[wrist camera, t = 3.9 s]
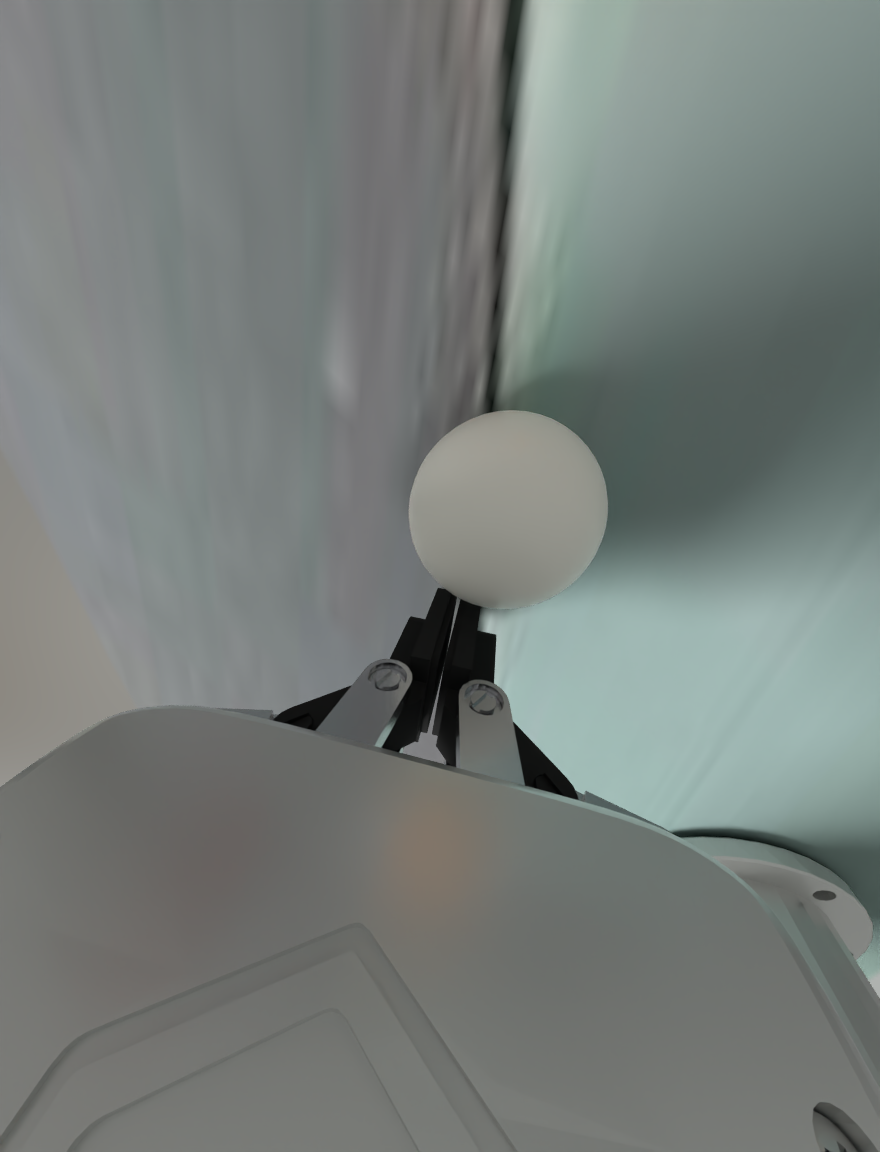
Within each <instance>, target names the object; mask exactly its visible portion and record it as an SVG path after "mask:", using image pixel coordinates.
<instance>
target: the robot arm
mask: <svg viewBox="0 0 880 1152" xmlns="http://www.w3.org/2000/svg"><path fill="white" fill-rule="evenodd" d="M456 599H457V597H456V596H455V595H453V594H452V593H450V592H449V591H447V590H446V589H442V588H438V589H437V592H436V594H435V597H434V599H433V602H432V604H431V607H430V609H429V612H428V614H427V617H426V619H421V618H416V617H410V618H409V620H408V622H407V624H406V626H405V628H404V630H403V632H402V635H401V637H400V639H399V641H398V643H397V645H396V647H395V649H394V651H393V653H392V655H391V657H390V659H382V660H378V661H375V662H373V663H371V664H370V665H369V666H368V667H367V668H366V669H365V670H364V671H363V672H362V674H361V675H360V676H359V677H358V679H357V680H356V681H355V682H354V684H353V685H352V686H349V687H346V688H344V689H341V690H338V691H335V692H333V693H330V694H327V695H324V696H322V697H319V698H316V699H313V700H311V701H308V702H305V703H302V704H300V705H297V706H294V707H291V708H289V709H287V710H285V711H283V712H281V713H280V714H279V715H274V714H273V710H250V709H223V708H209V707H200V706H178V705H169V706H157V707H146V708H140V709H135V710H130V711H126V712H122V713H119V714H116V715H113V716H110V717H107V718H105V719H103V720H101V721H99V722H97V723H95V724H93V725H92V726H90V727H88V728H86V729H84V730H83V731H81V732H80V733H78V734H76V735H74V736H73V737H71V738H70V739H68V740H67V741H65V742H64V743H62V744H61V745H59V746H58V747H56V748H55V749H53V750H52V751H50V752H49V753H47V754H46V755H44V756H43V757H42V758H40V759H39V760H37V761H36V762H35V763H33V764H31V765H30V766H29V767H27V768H26V769H24V770H23V771H22V772H20V773H19V774H17V775H16V776H15V777H13V778H12V779H10V780H9V781H8V782H6V783H5V784H4V785H2V786H1V787H0V1152H880V998H879V997H878V995H877V994H876V992H875V990H874V989H873V987H872V986H871V984H870V982H869V981H868V979H867V978H866V976H865V975H864V973H863V971H862V970H861V968H860V967H859V965H858V963H857V962H856V959H858V958H859V957H860V956H861V955H862V954H863V953H864V952H865V951H866V950H867V948H868V946H869V944H870V942H871V940H872V938H873V923H872V921H871V919H870V917H869V915H868V913H867V911H866V909H865V908H864V907H863V905H862V904H861V902H860V901H859V900H858V898H857V897H856V896H855V894H854V893H853V892H852V890H851V889H850V888H849V886H848V885H847V884H846V883H845V882H844V881H843V880H842V879H841V878H839V877H838V876H837V875H836V874H835V873H833V872H832V871H831V870H829V869H828V868H826V867H824V866H822V865H820V864H818V863H817V862H815V861H813V860H811V859H809V858H807V857H804V856H802V855H799V854H797V853H794V852H791V851H789V850H786V849H783V848H780V847H776V846H772V845H768V844H764V843H760V842H755V841H749V840H742V839H735V838H726V837H704V836H700V837H681V838H679V837H677V836H675V835H674V834H672V833H671V832H669V831H667V830H666V829H664V828H663V827H661V826H659V825H656V824H654V823H652V822H650V821H648V820H646V819H644V818H642V817H640V816H638V815H636V814H633V813H631V812H629V811H627V810H625V809H623V808H621V807H619V806H617V805H615V804H613V803H610V802H608V801H606V800H604V799H602V798H600V797H598V796H596V795H594V794H592V793H589V792H587V791H585V793H584V795H583V794H581V793H579V792H577V791H575V789H574V787H573V785H572V784H571V783H570V782H569V780H568V779H567V778H566V777H565V776H564V775H563V774H562V772H561V771H560V770H559V769H558V768H557V767H556V766H555V765H554V764H553V763H552V762H551V761H550V760H549V759H548V758H547V757H546V756H545V755H544V754H543V752H542V751H541V750H540V749H539V748H538V747H537V746H536V745H535V744H534V743H533V742H532V741H531V740H530V739H529V738H528V737H527V736H526V735H525V734H524V733H523V731H522V730H521V729H520V728H519V727H518V726H517V725H516V724H515V723H514V722H513V720H512V714H511V709H510V704H509V700H508V697H507V695H506V694H505V693H504V691H503V690H502V689H501V688H500V687H498V686H497V685H495V684H494V670H495V652H496V635H495V634H490V633H486V632H481V631H477V628H478V621H479V614H480V607H481V606H478V605H474V604H471V603H469V602H466V601H464V600H462V599H461V600H460V604H459V608H458V612H457V616H456V620H455V624H454V628H453V632H452V635H451V639H450V633H451V627H452V622H453V616H454V610H455V605H456ZM449 639H450V643H449ZM448 644H449V647H448ZM447 650H448V651H447ZM443 668H444V669H443ZM442 672H443V674H442ZM441 675H442V680H441V686H440V691H439V697H438V703H437V708H436V714H435V720H434V726H433V731H432V734H433V735H437V736H438V739H437V744H436V747H437V748H438V749H439V751H440V752H441V754H442V755H443V757H444V758H445V762H444V764H441V763H437V762H434V761H430V760H426V759H422V758H418V757H414V756H411V755H407V754H403V751H404V747H405V746H407V745H409V744H411V743H413V742H414V741H415V742H418V740H419V736H420V733H421V732H425V733H427V731H428V727H429V723H430V719H431V715H432V711H433V707H434V703H435V699H436V695H437V691H438V687H439V683H440V679H441Z"/></svg>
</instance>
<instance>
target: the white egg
mask: <svg viewBox="0 0 880 1152" xmlns="http://www.w3.org/2000/svg"><path fill="white" fill-rule="evenodd" d="M607 517H608V497H607V490H606V483H605V480H604V477H603V474H602V470H601V468H600V466H599V464H598V462H597V460H596V458H595V456H594V455H593V453H592V452H591V451H590V449H589V448H588V446H587V445H586V444H585V443H584V442H583V441H582V440H581V439H580V438H579V437H578V436H577V435H576V434H575V433H574V432H572V431H571V430H570V429H569V428H567V427H566V426H564V425H563V424H561V423H559V422H557V421H556V420H554V419H552V418H549V417H546V416H544V415H541V414H537V413H533V412H528V411H518V410H506V411H496V412H491V413H487V414H483V415H480V416H478V417H475V418H472V419H470V420H468V421H466V422H464V423H462V424H460V425H459V426H457V427H456V428H454V429H453V430H452V431H450V432H449V433H447V434H446V435H445V436H444V437H443V438H442V439H441V440H440V441H439V442H438V443H436V444H435V446H434V447H433V448H432V449H431V451H430V452H429V453H428V454H427V456H426V458H425V459H424V461H423V463H422V464H421V466H420V468H419V471H418V473H417V475H416V477H415V480H414V484H413V487H412V491H411V495H410V502H409V524H410V531H411V536H412V540H413V544H414V546H415V549H416V552H417V554H418V556H419V558H420V560H421V562H422V563H423V565H424V566H425V568H426V569H427V571H428V572H429V573H430V574H431V575H432V577H433V578H434V579H435V580H436V581H437V582H438V583H439V584H440V585H441V586H442V587H444V588H445V589H446V590H447V591H449V592H450V593H452V594H453V595H455V596H456V597H458V598H460V599H462V600H464V601H466V602H469V603H471V604H474V605H478V606H481V607H486V608H492V609H518V608H524V607H529V606H532V605H535V604H539V603H541V602H544V601H546V600H548V599H550V598H552V597H554V596H556V595H557V594H559V593H561V592H562V591H564V590H565V589H566V588H568V587H569V586H570V585H572V584H573V583H574V582H575V581H576V580H577V579H578V578H579V577H580V576H581V575H582V574H583V572H584V571H585V570H586V569H587V568H588V566H589V565H590V563H591V562H592V560H593V558H594V557H595V555H596V553H597V551H598V548H599V546H600V544H601V542H602V539H603V536H604V532H605V529H606V524H607Z"/></svg>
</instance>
